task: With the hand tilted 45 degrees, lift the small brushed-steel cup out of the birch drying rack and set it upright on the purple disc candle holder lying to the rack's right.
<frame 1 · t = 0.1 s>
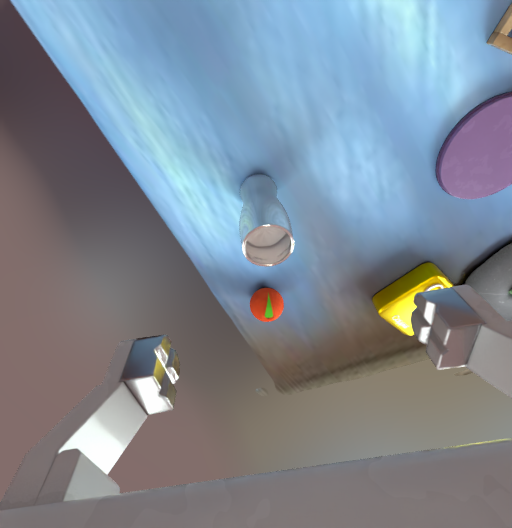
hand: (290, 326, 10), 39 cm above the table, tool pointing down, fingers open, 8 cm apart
element tile: (413, 293, 69), on the table
purple disc candle holder: (489, 149, 48), on the table
clementine: (265, 289, 64), on the table
beer glass: (258, 190, 49), on the table
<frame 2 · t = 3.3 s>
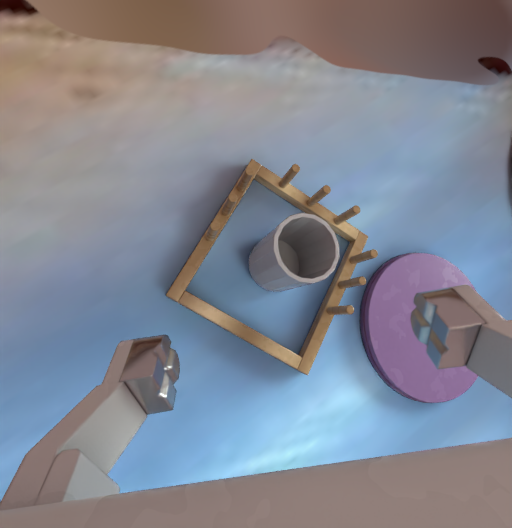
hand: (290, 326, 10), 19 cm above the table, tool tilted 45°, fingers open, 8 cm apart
drying rack: (274, 264, 31), on the table
steel cup: (274, 264, 31), resting in drying rack
purple disc candle holder: (423, 324, 34), on the table
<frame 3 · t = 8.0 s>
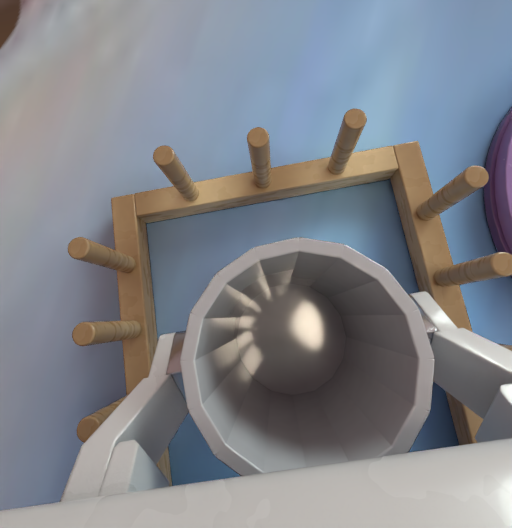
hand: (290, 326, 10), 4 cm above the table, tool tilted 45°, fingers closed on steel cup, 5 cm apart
drying rack: (289, 336, 14), on the table
steel cup: (290, 336, 14), resting in drying rack, touching gripper
when the fingers open (5 cm above the table, at t = 17.2 s): steel cup stays where it is, resting on purple disc candle holder.
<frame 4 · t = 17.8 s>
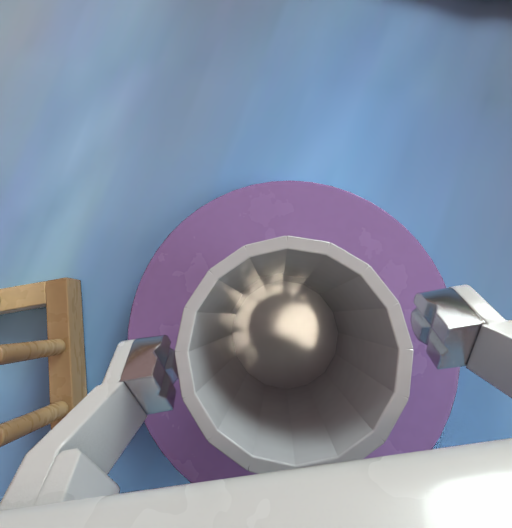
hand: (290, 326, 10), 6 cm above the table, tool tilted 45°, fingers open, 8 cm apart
steel cup: (284, 332, 15), point 1 cm above the table, touching purple disc candle holder
purple disc candle holder: (286, 334, 16), on the table
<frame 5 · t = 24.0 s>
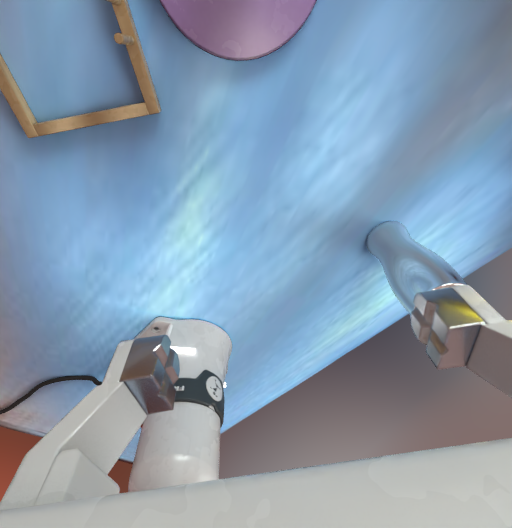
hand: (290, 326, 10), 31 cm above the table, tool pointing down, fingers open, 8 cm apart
drying rack: (59, 36, 30), on the table
beer glass: (385, 238, 45), on the table
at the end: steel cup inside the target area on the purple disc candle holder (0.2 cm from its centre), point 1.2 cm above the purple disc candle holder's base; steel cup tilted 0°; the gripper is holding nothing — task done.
